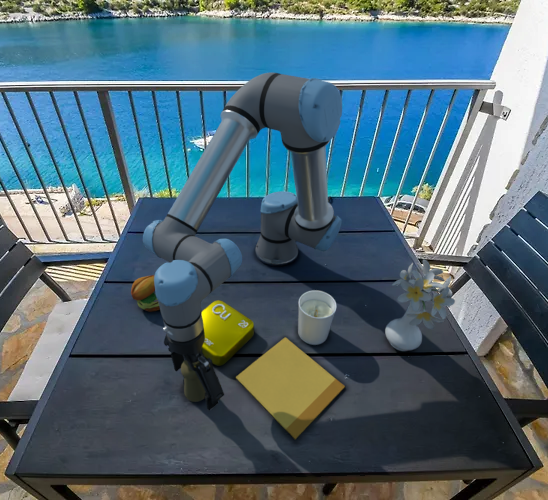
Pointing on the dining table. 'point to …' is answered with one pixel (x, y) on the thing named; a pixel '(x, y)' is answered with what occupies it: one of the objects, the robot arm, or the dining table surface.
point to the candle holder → (315, 316)
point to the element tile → (224, 332)
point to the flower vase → (418, 306)
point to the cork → (192, 383)
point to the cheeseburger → (145, 293)
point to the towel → (290, 386)
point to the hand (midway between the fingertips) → (195, 385)
